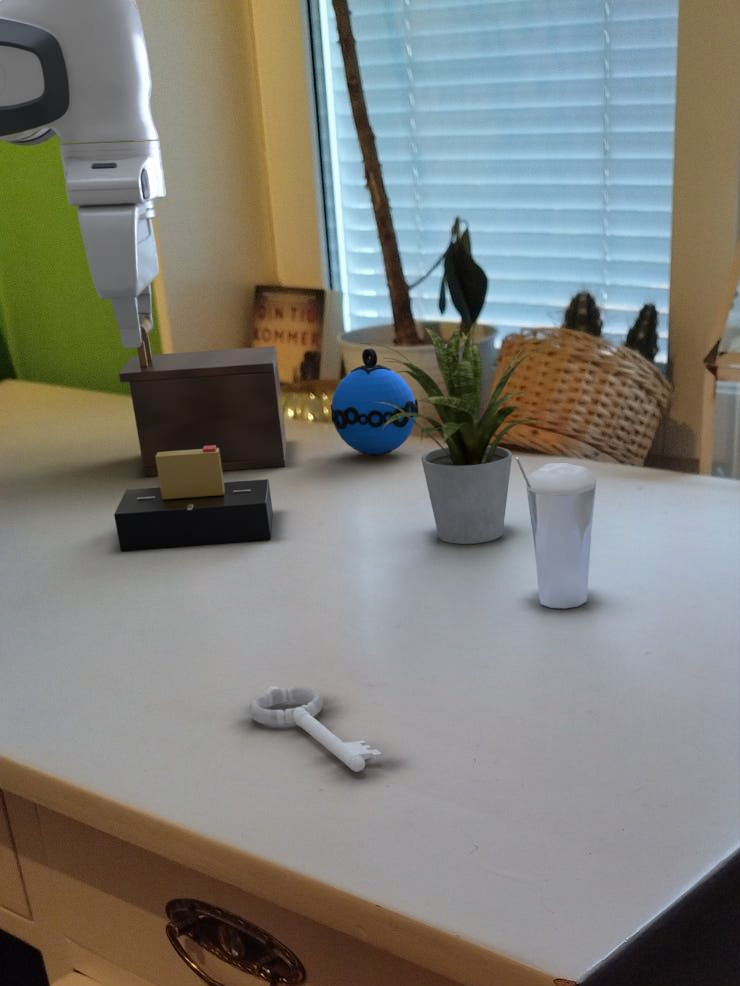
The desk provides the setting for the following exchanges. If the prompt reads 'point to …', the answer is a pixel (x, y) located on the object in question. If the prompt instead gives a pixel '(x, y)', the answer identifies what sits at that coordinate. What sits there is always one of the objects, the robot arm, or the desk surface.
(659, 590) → the desk surface
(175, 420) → the box
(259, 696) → the key
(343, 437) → the ornament
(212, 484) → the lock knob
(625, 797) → the desk surface
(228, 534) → the panel
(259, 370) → the lid
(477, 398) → the house plant
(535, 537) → the milkshake
